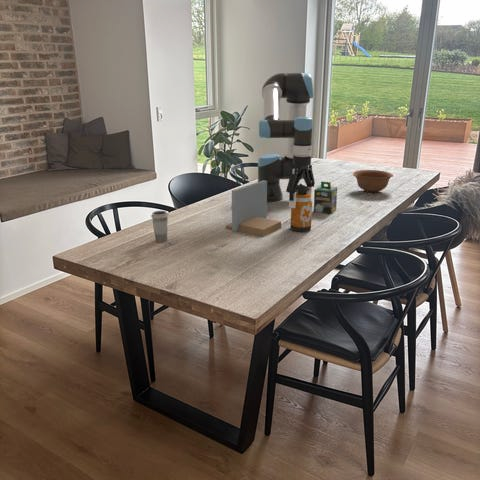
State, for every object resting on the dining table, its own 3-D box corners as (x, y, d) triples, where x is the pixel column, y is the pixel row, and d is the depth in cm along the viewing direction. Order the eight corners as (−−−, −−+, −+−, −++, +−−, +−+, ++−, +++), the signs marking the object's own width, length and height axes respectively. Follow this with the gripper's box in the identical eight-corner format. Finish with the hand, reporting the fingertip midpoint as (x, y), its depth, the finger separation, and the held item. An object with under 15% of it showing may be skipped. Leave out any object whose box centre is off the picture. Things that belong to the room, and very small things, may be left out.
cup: (161, 244, 197) (160, 216, 193) (149, 241, 200) (147, 213, 196) (173, 239, 202) (171, 211, 198) (160, 236, 206) (159, 209, 202)
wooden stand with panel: (223, 228, 215) (222, 188, 209) (254, 216, 233) (254, 179, 227) (260, 237, 204) (261, 195, 198) (290, 223, 222) (291, 184, 216)
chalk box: (336, 209, 244) (338, 180, 239) (331, 214, 236) (333, 184, 231) (318, 207, 248) (320, 178, 243) (312, 212, 240) (314, 182, 235)
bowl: (348, 195, 271) (349, 175, 267) (355, 186, 290) (356, 168, 286) (389, 198, 263) (391, 178, 259) (393, 189, 282) (395, 170, 278)
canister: (297, 233, 209) (299, 188, 202) (283, 226, 218) (285, 182, 211) (315, 230, 213) (317, 185, 206) (300, 223, 222) (302, 180, 215)
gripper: (294, 160, 193) (293, 212, 200) (324, 152, 212) (321, 199, 219) (278, 158, 197) (277, 209, 204) (308, 150, 216) (306, 197, 223)
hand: (300, 204), depth 211 cm, fingers open, 13 cm apart
